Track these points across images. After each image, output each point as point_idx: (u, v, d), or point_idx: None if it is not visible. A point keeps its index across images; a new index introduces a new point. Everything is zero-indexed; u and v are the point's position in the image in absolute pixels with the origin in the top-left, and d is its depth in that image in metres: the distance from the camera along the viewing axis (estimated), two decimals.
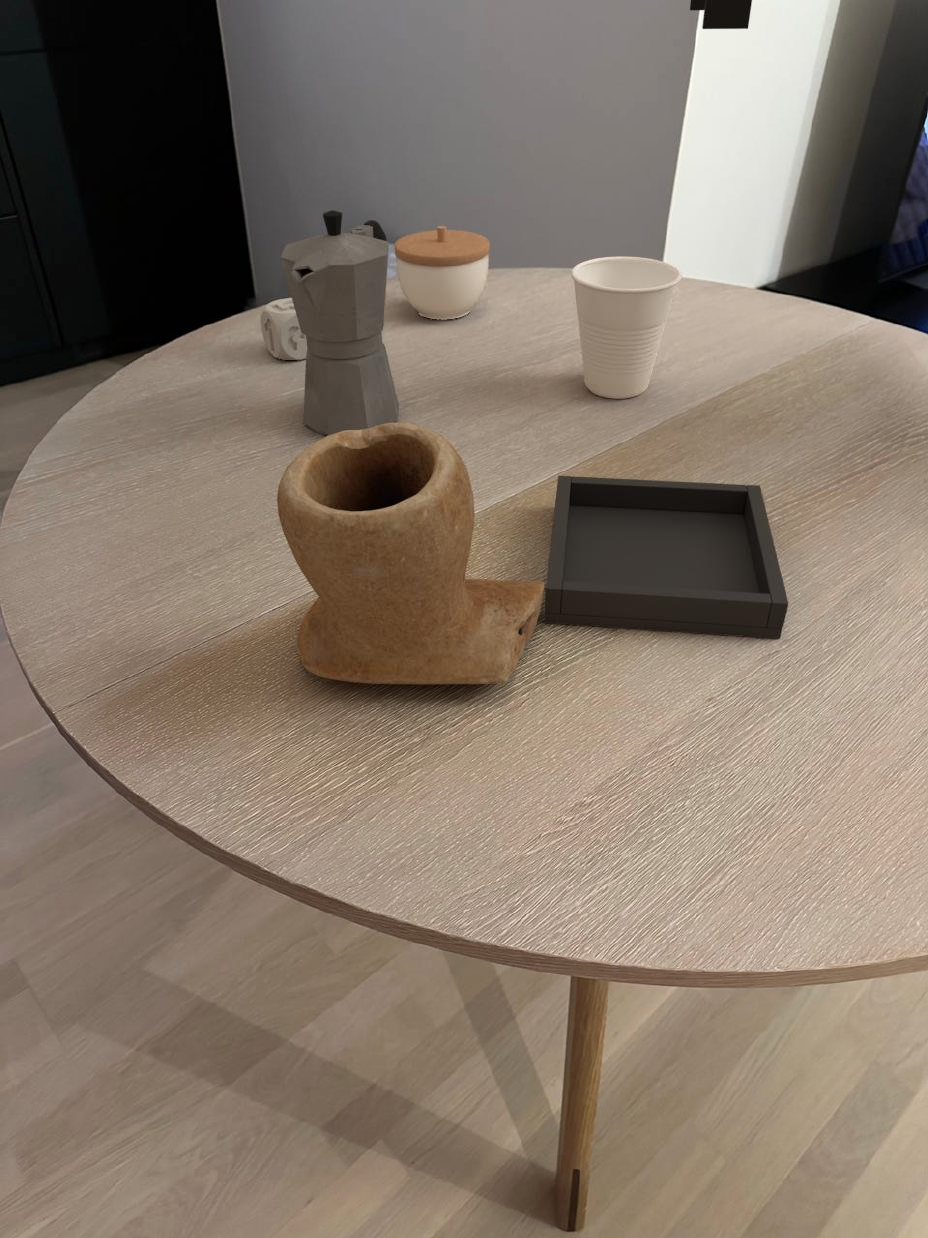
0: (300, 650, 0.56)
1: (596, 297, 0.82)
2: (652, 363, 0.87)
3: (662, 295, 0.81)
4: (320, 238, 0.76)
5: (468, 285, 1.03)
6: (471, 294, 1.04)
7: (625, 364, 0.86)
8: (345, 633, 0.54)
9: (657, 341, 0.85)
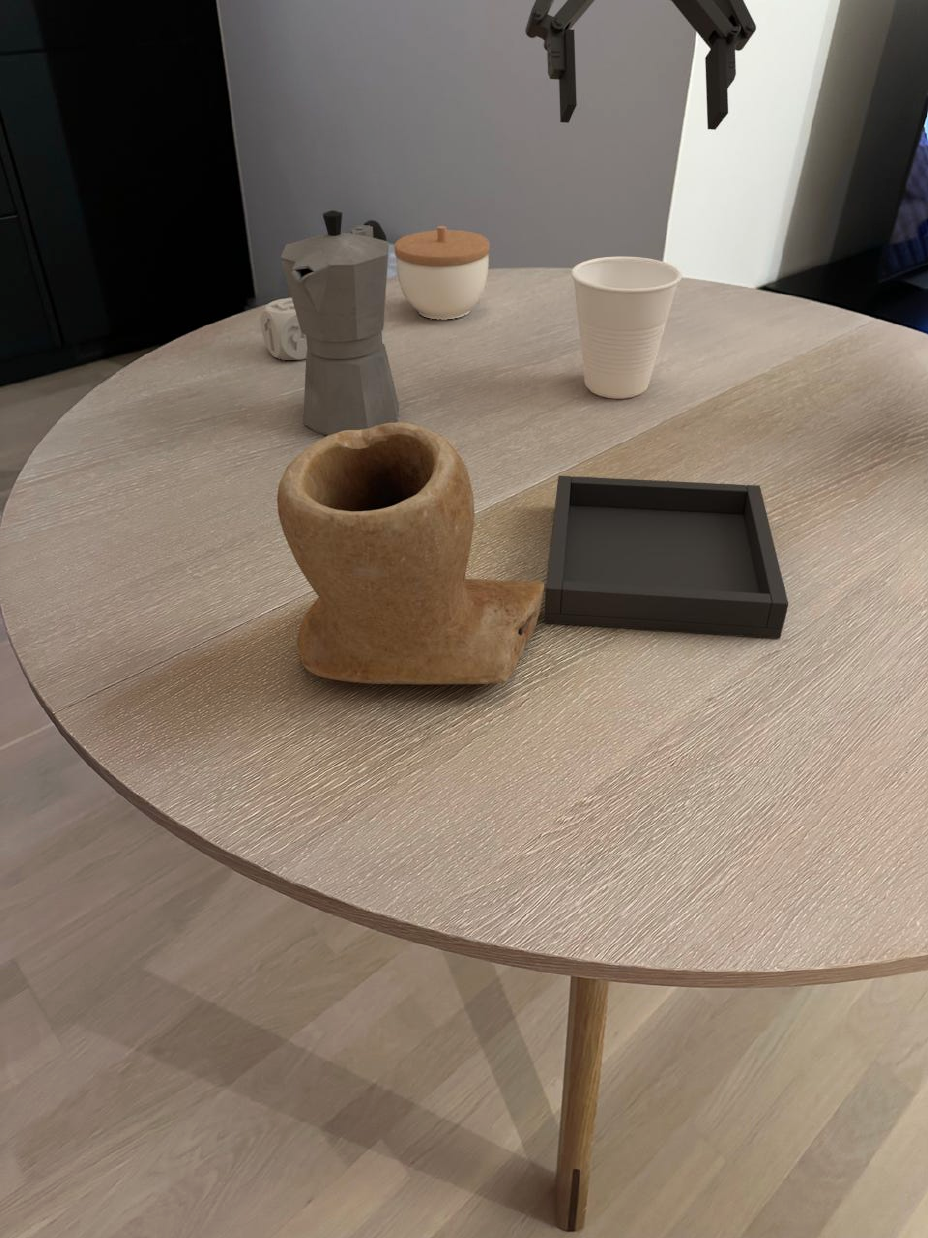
0: (300, 650, 0.56)
1: (596, 297, 0.82)
2: (652, 363, 0.87)
3: (662, 295, 0.81)
4: (320, 238, 0.76)
5: (468, 285, 1.03)
6: (471, 294, 1.04)
7: (625, 364, 0.86)
8: (345, 633, 0.54)
9: (657, 341, 0.85)
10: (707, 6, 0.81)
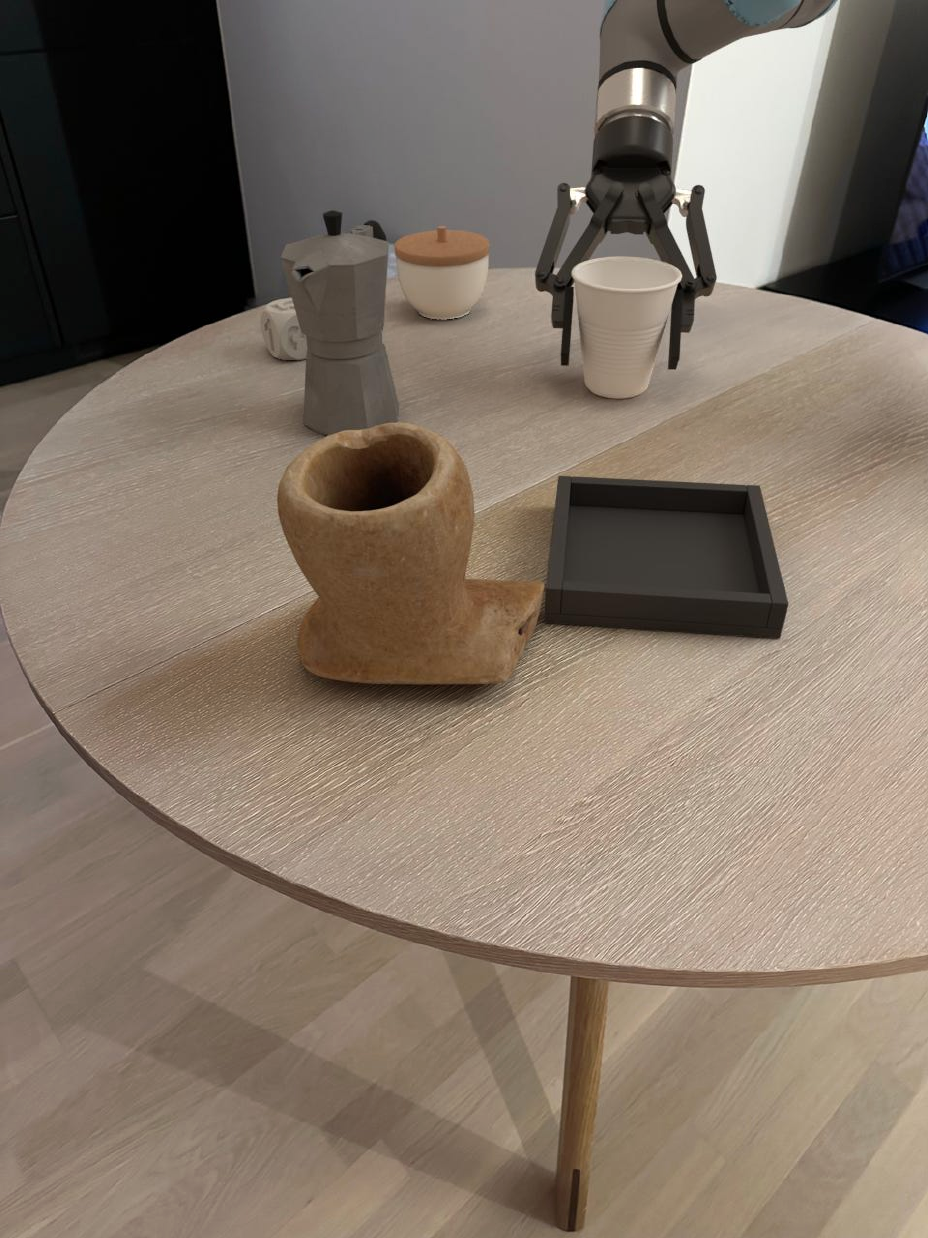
0: (300, 650, 0.56)
1: (597, 297, 0.82)
2: (652, 363, 0.87)
3: (663, 295, 0.81)
4: (320, 238, 0.76)
5: (468, 285, 1.03)
6: (471, 294, 1.04)
7: (625, 364, 0.86)
8: (345, 633, 0.54)
9: (657, 341, 0.85)
10: (674, 256, 0.85)
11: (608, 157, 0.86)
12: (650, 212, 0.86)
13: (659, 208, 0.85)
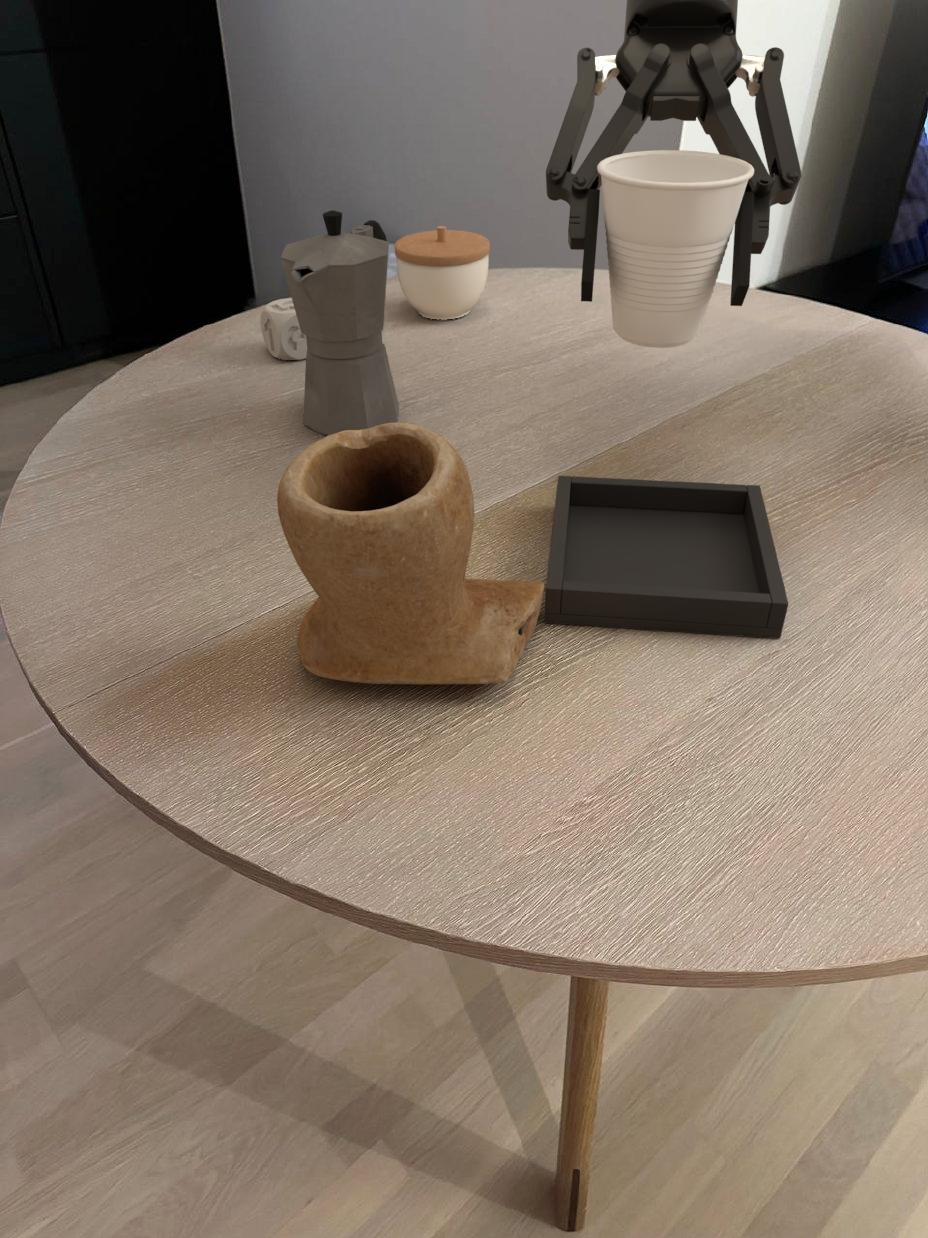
0: (300, 650, 0.56)
1: (634, 198, 0.57)
2: (708, 298, 0.63)
3: (728, 194, 0.57)
4: (320, 238, 0.76)
5: (468, 285, 1.03)
6: (471, 294, 1.04)
7: (672, 298, 0.61)
8: (345, 633, 0.54)
9: (717, 265, 0.61)
10: (741, 146, 0.61)
11: (649, 8, 0.61)
12: (707, 85, 0.61)
13: (720, 79, 0.61)
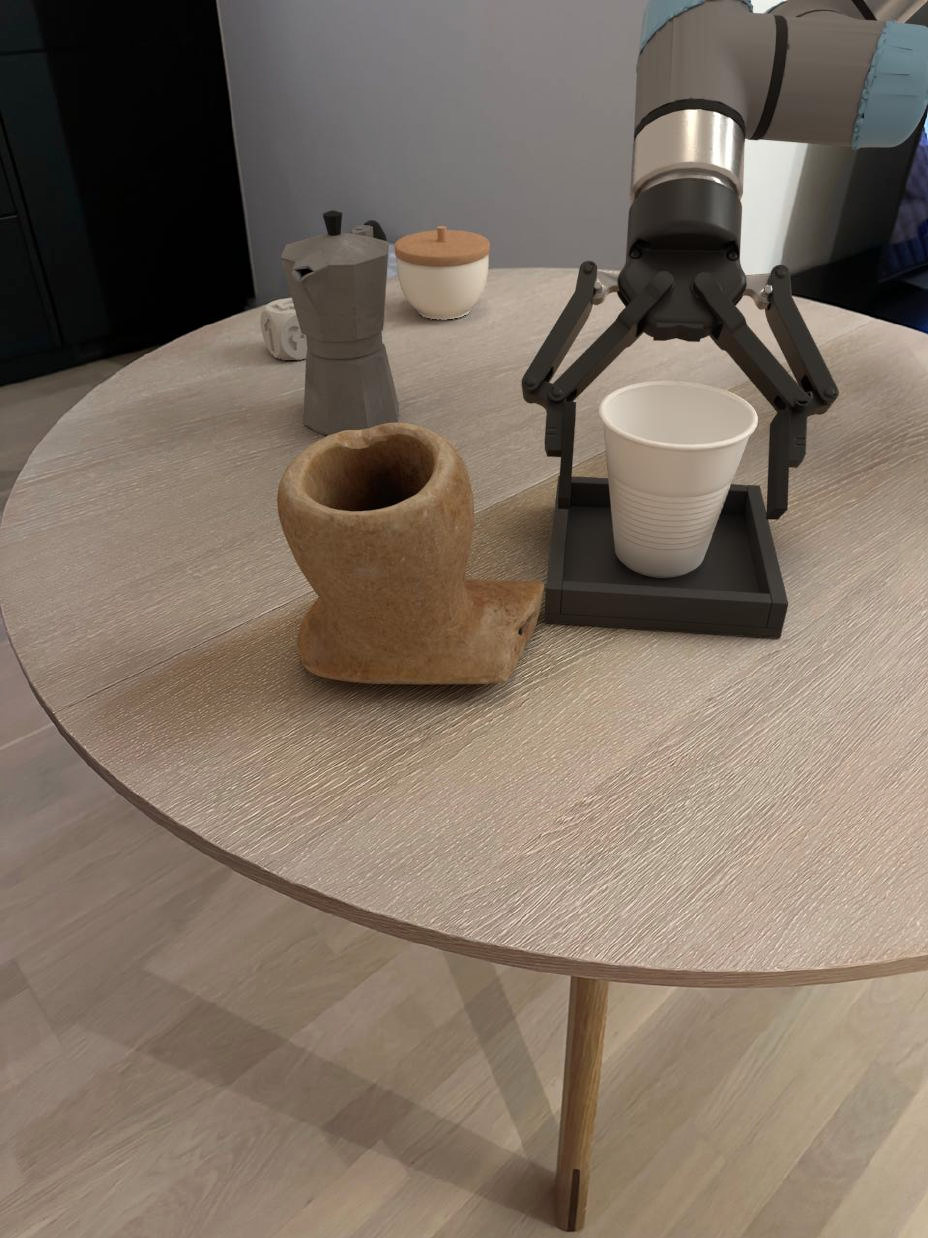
0: (300, 650, 0.56)
1: (636, 453, 0.57)
2: (712, 532, 0.62)
3: (732, 450, 0.56)
4: (320, 238, 0.76)
5: (468, 285, 1.03)
6: (471, 294, 1.04)
7: (675, 538, 0.60)
8: (345, 633, 0.54)
9: (720, 505, 0.60)
10: (768, 367, 0.60)
11: (652, 236, 0.60)
12: (719, 312, 0.60)
13: (725, 309, 0.60)
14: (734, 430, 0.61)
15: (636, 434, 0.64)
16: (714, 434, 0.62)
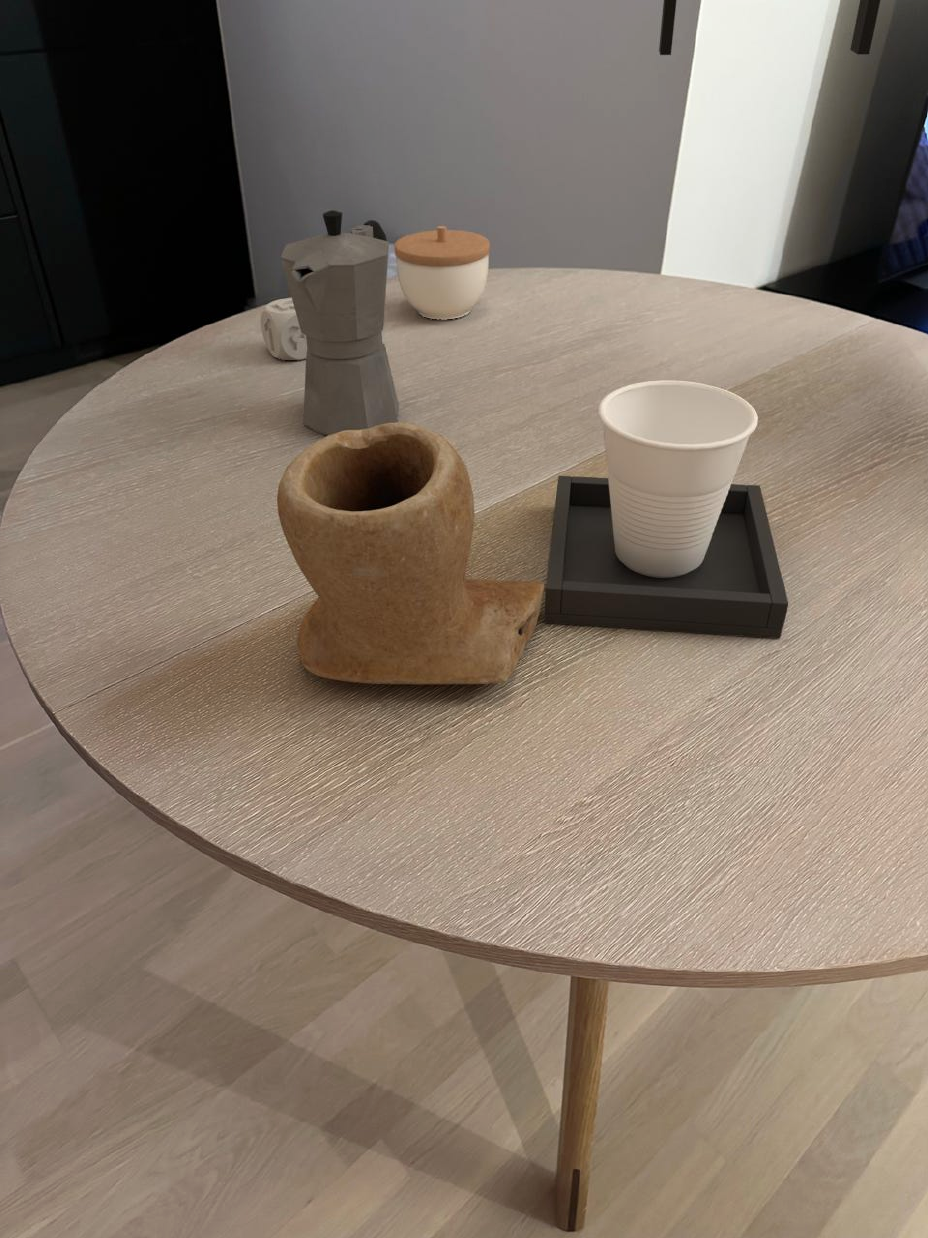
0: (300, 650, 0.56)
1: (636, 453, 0.57)
2: (712, 532, 0.62)
3: (732, 450, 0.56)
4: (320, 238, 0.76)
5: (468, 285, 1.03)
6: (471, 294, 1.04)
7: (675, 538, 0.60)
8: (345, 633, 0.54)
9: (720, 505, 0.60)
10: None
11: None
12: None
13: None
14: (734, 430, 0.61)
15: (636, 435, 0.64)
16: (714, 434, 0.63)
